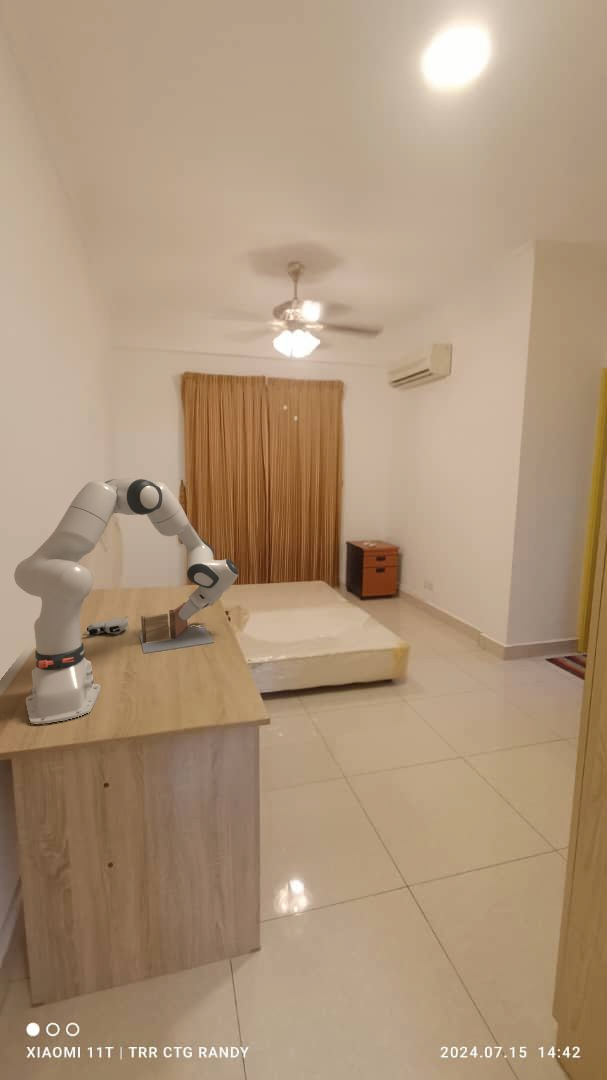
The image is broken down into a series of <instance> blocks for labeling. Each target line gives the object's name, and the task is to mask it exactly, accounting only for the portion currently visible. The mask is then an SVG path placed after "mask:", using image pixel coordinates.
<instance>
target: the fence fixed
mask: <svg viewBox="0 0 607 1080" xmlns="http://www.w3.org/2000/svg"><path fill="white" fill-rule="evenodd" d="M174 610H175V609H170V610H168V613H169V614H168V613H161V614H154V615H146V616H145V615H142V616H140V620H141V621H140V623H141V632H142V638H143V643H147V642H154V641H161V640H167V639H169V628H170V634H171V639H175V624H174Z"/></svg>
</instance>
